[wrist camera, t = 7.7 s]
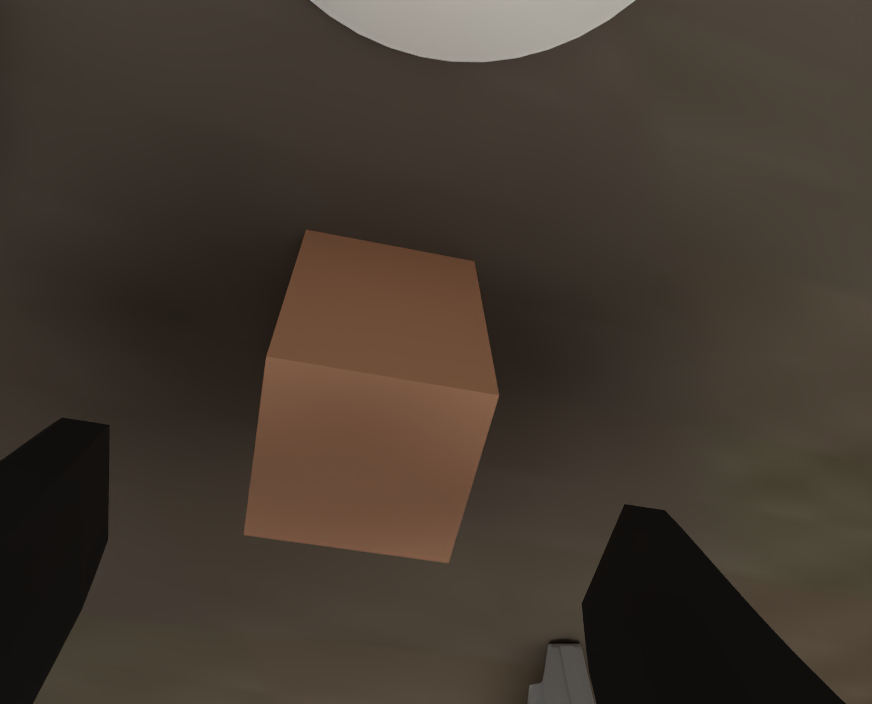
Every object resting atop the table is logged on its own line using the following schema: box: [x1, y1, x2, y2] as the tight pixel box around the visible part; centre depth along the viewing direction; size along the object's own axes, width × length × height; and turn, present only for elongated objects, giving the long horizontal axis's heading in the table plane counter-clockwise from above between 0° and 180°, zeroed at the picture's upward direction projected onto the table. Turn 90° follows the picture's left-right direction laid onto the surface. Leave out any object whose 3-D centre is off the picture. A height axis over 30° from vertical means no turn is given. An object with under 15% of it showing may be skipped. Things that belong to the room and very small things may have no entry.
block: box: [244, 230, 499, 563], centre depth 14 cm, size 3×3×5 cm
